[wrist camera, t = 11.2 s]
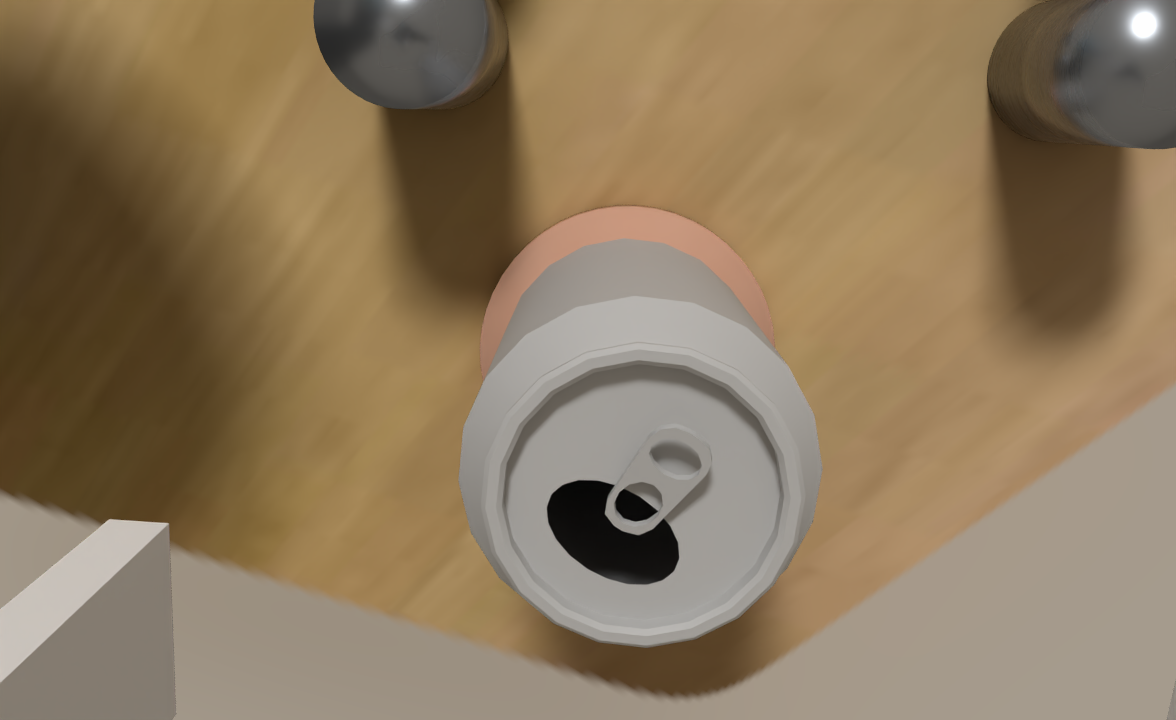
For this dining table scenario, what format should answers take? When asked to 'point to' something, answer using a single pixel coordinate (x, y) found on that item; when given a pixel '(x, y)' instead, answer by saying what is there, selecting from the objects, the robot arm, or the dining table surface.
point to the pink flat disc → (610, 227)
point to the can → (638, 449)
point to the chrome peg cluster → (1015, 74)
